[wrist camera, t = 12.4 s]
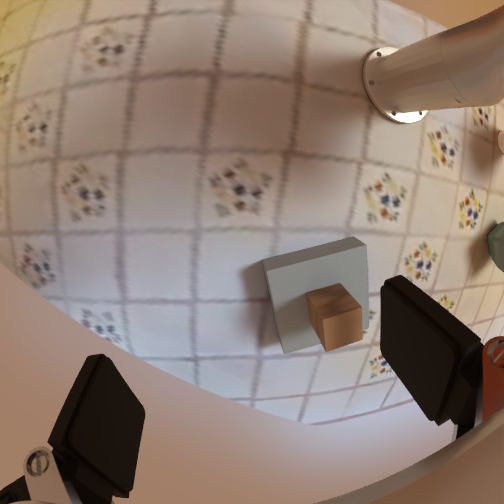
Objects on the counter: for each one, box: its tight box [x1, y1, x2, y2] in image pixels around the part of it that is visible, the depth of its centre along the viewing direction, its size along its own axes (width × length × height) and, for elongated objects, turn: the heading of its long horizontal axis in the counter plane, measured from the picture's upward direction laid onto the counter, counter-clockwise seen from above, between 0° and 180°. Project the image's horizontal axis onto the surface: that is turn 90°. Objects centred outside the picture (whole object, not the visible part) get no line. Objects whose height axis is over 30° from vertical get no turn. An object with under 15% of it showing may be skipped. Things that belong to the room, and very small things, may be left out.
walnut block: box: [306, 283, 362, 352], centre depth 35 cm, size 5×5×7 cm
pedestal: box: [262, 237, 369, 354], centre depth 40 cm, size 14×14×4 cm
